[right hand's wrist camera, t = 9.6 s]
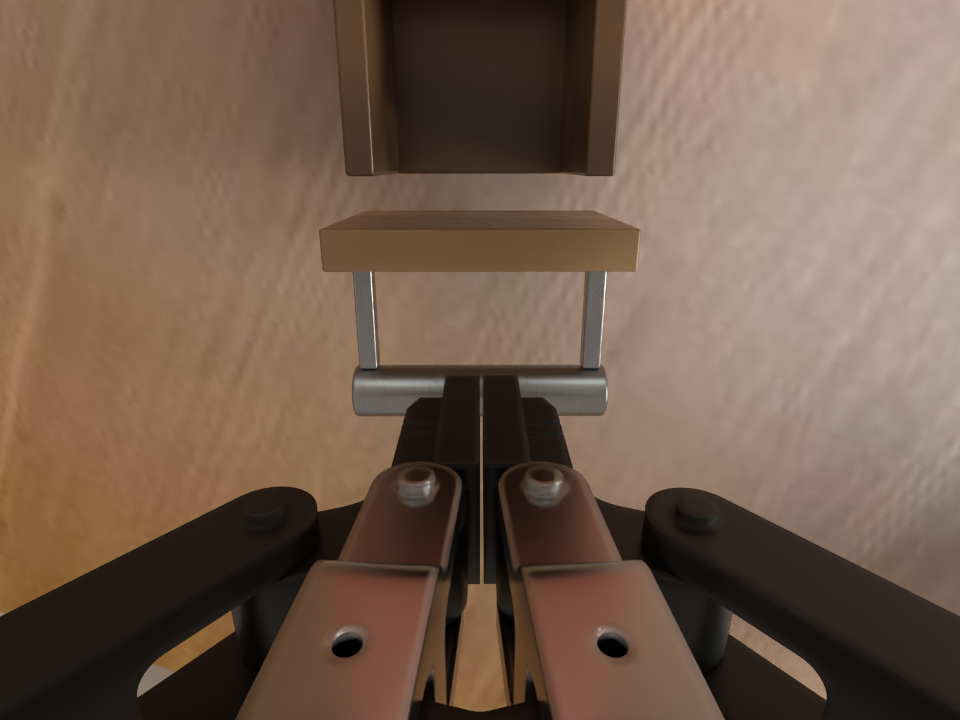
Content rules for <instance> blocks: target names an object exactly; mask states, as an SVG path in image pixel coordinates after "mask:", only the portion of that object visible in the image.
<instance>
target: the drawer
mask: <svg viewBox="0 0 960 720" xmlns="http://www.w3.org/2000/svg"><path fill="white" fill-rule="evenodd" d="M333 5H334V19H335V33H336V46H337V60H338V74H339V88H340V102H341V115H342V129H343V143H344V157H345V171H346V174H347V175H348V176H377V175H386V174H396V173H563V174H573V175H583V176H613V175H614V173H615V159H616V145H617V131H618V117H619V103H620V89H621V75H622V61H623V47H624V33H625V20H626V6H627V0H333ZM640 234H641V231H640V229H638V228H635V227H633V226H630V225H628V224H625V223H623V222H620V221H618V220H615V219H613V218H610V217H608V216H605V215H603V214H600V213H598V212H595V211H364V212H362V213H360V214H357V215H355V216H352V217H350V218H347V219H345V220H342V221H340V222H337V223H335V224H333V225H330V226H328V227H325V228H323V229H320V231H319V235H320V246H321V258H322V269H323V271H325V272H353V283H354V296H355V310H356V324H357V338H358V352H359V366H357V367H356V369H355V371H354V375H353V381H352V402H353V408H354V411H355V414H356V415H357V416H405V414H406V410H407V408H408V407H409V406H411V405H412V404H413V403H414V402H415V401H416V400H418V399H419V398H420V397H442V396H443V389H444V382H445V376H446V375H480V416H483V375H518V381H519V388H520V394H521V397H543V398H544V399H546V400H547V401H548V402H549V403H550V404H551V405H553V406H554V407H555V408H556V410H557V413H558V416H602V415H604V413H605V411H606V407H607V401H608V382H607V375H606V371H605V369H604V367H603V366H602V365H600V363H601V349H602V335H603V321H604V307H605V293H606V279H607V271H637V268H638V257H639V246H640ZM375 272H585V285H584V302H583V319H582V336H581V352H580V364H581V365H379V364H380V355H379V338H378V322H377V305H376V288H375Z"/></svg>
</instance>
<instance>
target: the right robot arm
mask: <svg viewBox="0 0 960 720" xmlns="http://www.w3.org/2000/svg"><path fill="white" fill-rule="evenodd" d="M483 539H484V584H496V591H497V618H496V623H497V633H498V641H499V649H500V657H501V665H502V673H503V680H504V688H505V696H506V704H507V707H503V708H499V709H495V710H491V711H485V712H475V711H469V710H465V709H461V708H457V707H453V704H454V696H455V688H456V680H457V673H458V665H459V657H460V649H461V641H462V633H463V623H464V618H463V610H464V609H465V606H466V603H467V594H468V584H480V375H446V376H445V382H444V389H443V396H442V397H420V398H419V399H418V400H416V401H415V402H414V403H413V404H412V405H411V406H409V407H408V408H407V410H406V414H405V418H404V422H403V425H402V429H401V435H400V436H399V440H398V444H397V448H396V451H395V455H394V459H393V463H392V466H391V468H388V469H386V470H385V471H383V472H382V473H380V474H379V475H378V476H377V477H376V478H375V479H374V481H373V482H372V484H371V486H370V489H369V491H368V493H367V495H366V498H365V500H363V501H361V502H358V503H355V504H352V505H348V506H344V507H340V508H335V509H330V510H325V511H320V512H318V511H317V503H316V501H315V499H314V498H313V496H312V495H311V494H309V493H308V492H306V491H304V490H301V489H298V488H293V487H270V488H264V489H260V490H256V491H253V492H250V493H247V494H245V495H242V496H240V497H238V498H236V499H234V500H232V501H230V502H228V503H226V504H224V505H222V506H220V507H218V508H216V509H214V510H212V511H210V512H208V513H206V514H204V515H202V516H200V517H198V518H196V519H194V520H192V521H190V522H188V523H186V524H184V525H182V526H180V527H178V528H176V529H174V530H172V531H170V532H168V533H166V534H164V535H162V536H160V537H158V538H156V539H154V540H152V541H150V542H148V543H146V544H144V545H142V546H140V547H138V548H136V549H134V550H132V551H130V552H128V553H126V554H124V555H122V556H120V557H118V558H116V559H114V560H112V561H110V562H108V563H106V564H104V565H102V566H100V567H98V568H96V569H94V570H92V571H90V572H88V573H86V574H84V575H82V576H80V577H78V578H76V579H74V580H72V581H70V582H68V583H66V584H64V585H62V586H60V587H58V588H56V589H54V590H52V591H50V592H48V593H46V594H44V595H42V596H40V597H38V598H36V599H34V600H32V601H30V602H28V603H26V604H24V605H22V606H20V607H18V608H16V609H14V610H12V611H10V612H8V613H6V614H4V615H2V616H1V617H0V720H960V616H958V615H956V614H954V613H952V612H950V611H948V610H946V609H944V608H942V607H940V606H938V605H936V604H934V603H932V602H930V601H928V600H926V599H924V598H922V597H920V596H918V595H916V594H914V593H912V592H910V591H908V590H906V589H904V588H902V587H900V586H898V585H896V584H894V583H892V582H890V581H888V580H886V579H884V578H882V577H880V576H878V575H876V574H874V573H872V572H870V571H868V570H866V569H864V568H862V567H860V566H858V565H856V564H854V563H852V562H850V561H848V560H846V559H844V558H842V557H840V556H838V555H836V554H834V553H832V552H830V551H828V550H826V549H824V548H822V547H820V546H818V545H816V544H814V543H812V542H810V541H808V540H806V539H804V538H802V537H800V536H798V535H796V534H794V533H792V532H790V531H788V530H786V529H784V528H782V527H780V526H778V525H776V524H774V523H772V522H770V521H768V520H766V519H764V518H762V517H760V516H758V515H756V514H754V513H752V512H750V511H748V510H746V509H744V508H742V507H740V506H738V505H736V504H734V503H732V502H730V501H728V500H726V499H724V498H722V497H720V496H717V495H715V494H712V493H709V492H706V491H702V490H698V489H692V488H670V489H665V490H661V491H659V492H657V493H655V494H653V495H652V496H651V497H650V498H649V499H648V500H647V503H646V506H645V511H640V510H635V509H631V508H626V507H621V506H617V505H613V504H610V503H607V502H604V501H602V500H600V499H597V498H596V497H594V495H593V493H592V491H591V489H590V486H589V484H588V482H587V481H586V479H585V478H584V477H583V476H582V475H581V474H580V473H578V472H577V471H575V470H574V469H573V467H572V463H571V460H570V456H569V453H568V449H567V445H566V442H565V438H564V435H563V431H562V428H561V424H560V420H559V417H558V413H557V410H556V408H555V407H554V406H553V405H551V404H550V403H549V402H548V401H547V400H546V399H544V398H543V397H521V394H520V388H519V381H518V375H483ZM229 611H232V616H233V621H234V626H235V632H233V633H232V634H230V635H229V636H227V637H226V638H224V639H223V640H222V641H220V642H219V643H217V644H216V645H214V646H213V647H211V648H210V649H208V650H207V651H205V652H204V653H203V654H201V655H200V656H198V657H197V658H195V659H194V660H192V661H191V662H189V663H188V664H186V665H185V666H184V667H182V668H181V669H179V670H178V671H176V672H175V673H173V674H172V675H170V676H169V677H167V678H166V679H164V680H163V681H162V682H160V683H159V684H157V685H156V686H154V687H153V688H151V689H150V690H148V691H147V692H146V693H144V694H143V695H141V696H139V697H138V698H137V689H138V685H139V683H140V680H141V678H142V677H143V675H144V673H145V672H146V671H147V669H148V668H149V667H150V666H151V665H152V664H153V663H154V662H155V661H156V660H157V659H158V658H159V657H161V656H162V655H163V654H165V653H166V652H168V651H169V650H171V649H172V648H174V647H176V646H177V645H179V644H180V643H182V642H183V641H185V640H186V639H188V638H189V637H191V636H192V635H194V634H195V633H197V632H199V631H200V630H202V629H203V628H205V627H206V626H208V625H209V624H211V623H212V622H214V621H215V620H217V619H219V618H220V617H222V616H223V615H225V614H226V613H228V612H229ZM733 613H734V614H735V615H737V616H738V617H740V618H741V619H743V620H745V621H746V622H748V623H749V624H751V625H752V626H754V627H755V628H757V629H758V630H760V631H761V632H763V633H765V634H766V635H768V636H769V637H771V638H772V639H774V640H775V641H777V642H778V643H780V644H781V645H783V646H785V647H786V648H788V649H789V650H791V651H792V652H794V653H795V654H797V655H798V656H800V657H801V658H803V659H804V660H805V661H806V662H807V663H809V664H810V665H811V666H812V667H813V669H814V670H815V671H816V672H817V674H818V675H819V676H820V678H821V680H822V681H823V684H824V686H825V689H826V693H827V700H825V699H824V698H822V697H820V696H819V695H817V694H816V693H815V692H813V691H812V690H810V689H809V688H807V687H806V686H804V685H803V684H801V683H800V682H798V681H797V680H796V679H794V678H793V677H791V676H790V675H788V674H787V673H785V672H784V671H782V670H781V669H779V668H778V667H776V666H775V665H774V664H772V663H771V662H769V661H768V660H766V659H765V658H763V657H762V656H760V655H759V654H757V653H756V652H755V651H753V650H752V649H750V648H749V647H747V646H746V645H744V644H743V643H741V642H740V641H738V640H737V639H736V638H734V637H733V636H731V635H730V634H728V633H729V629H730V624H731V619H732V614H733Z"/></svg>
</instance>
